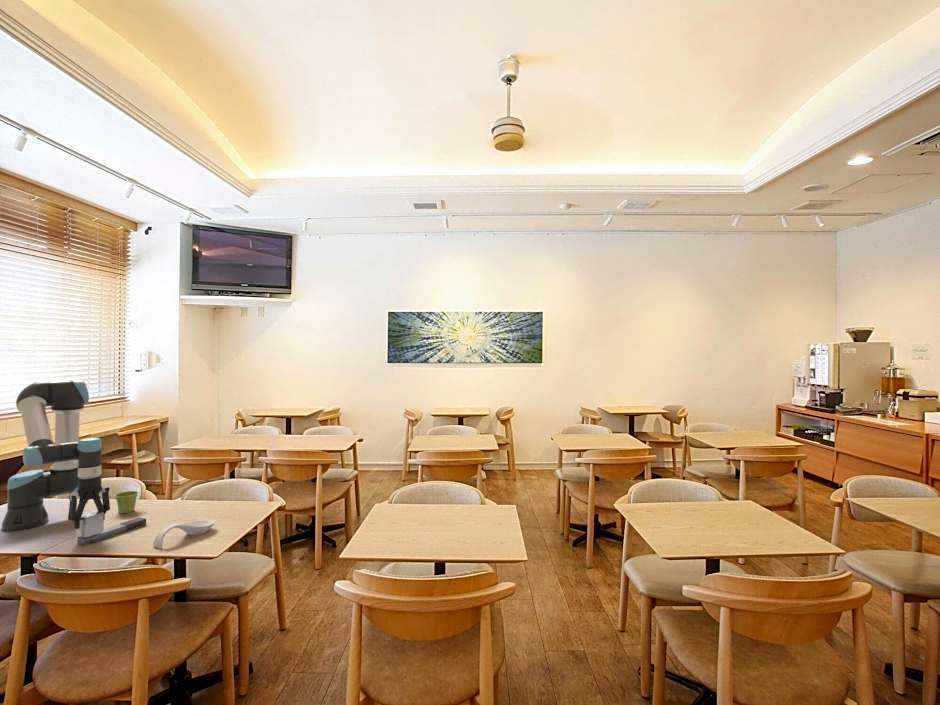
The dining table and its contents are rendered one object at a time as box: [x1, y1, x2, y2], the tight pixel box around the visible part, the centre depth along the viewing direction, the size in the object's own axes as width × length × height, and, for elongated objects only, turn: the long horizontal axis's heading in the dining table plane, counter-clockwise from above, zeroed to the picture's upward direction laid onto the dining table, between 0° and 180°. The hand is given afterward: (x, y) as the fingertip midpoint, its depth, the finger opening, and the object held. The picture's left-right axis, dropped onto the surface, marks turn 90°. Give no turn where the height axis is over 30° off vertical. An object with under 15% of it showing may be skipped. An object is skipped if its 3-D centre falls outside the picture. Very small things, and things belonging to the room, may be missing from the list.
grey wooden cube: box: [80, 510, 105, 538], centre depth 188 cm, size 6×6×8 cm
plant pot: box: [114, 490, 139, 514], centre depth 223 cm, size 9×9×9 cm
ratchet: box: [77, 516, 147, 546], centre depth 196 cm, size 24×5×6 cm, turn 158°
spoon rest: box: [152, 519, 215, 549], centre depth 192 cm, size 24×12×7 cm, turn 158°
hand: (89, 532), depth 188 cm, fingers closed on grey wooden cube, 6 cm apart
